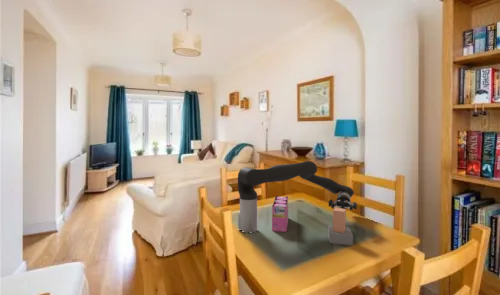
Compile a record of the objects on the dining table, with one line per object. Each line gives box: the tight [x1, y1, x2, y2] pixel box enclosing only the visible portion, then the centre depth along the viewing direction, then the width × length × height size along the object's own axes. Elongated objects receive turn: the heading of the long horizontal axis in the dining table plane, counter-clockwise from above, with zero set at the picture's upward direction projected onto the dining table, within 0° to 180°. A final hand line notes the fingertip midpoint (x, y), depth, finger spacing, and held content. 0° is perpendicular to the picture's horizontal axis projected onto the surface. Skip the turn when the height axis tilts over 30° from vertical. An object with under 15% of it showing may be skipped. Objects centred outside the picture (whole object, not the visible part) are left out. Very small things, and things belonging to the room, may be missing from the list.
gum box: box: [271, 195, 289, 233], centre depth 140 cm, size 24×8×14 cm, turn 169°
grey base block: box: [327, 225, 354, 246], centre depth 118 cm, size 10×10×5 cm
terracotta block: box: [332, 207, 347, 233], centre depth 118 cm, size 5×5×10 cm
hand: (341, 207), depth 128 cm, fingers open, 8 cm apart
